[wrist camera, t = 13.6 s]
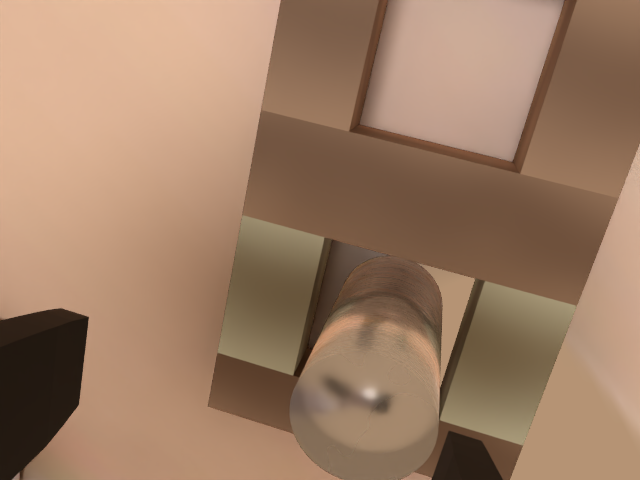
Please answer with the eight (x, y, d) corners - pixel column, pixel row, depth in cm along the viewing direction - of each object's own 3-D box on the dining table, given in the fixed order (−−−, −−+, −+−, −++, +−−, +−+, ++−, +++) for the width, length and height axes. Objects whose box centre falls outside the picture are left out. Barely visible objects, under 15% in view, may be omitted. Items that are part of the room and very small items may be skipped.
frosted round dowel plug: (427, 362, 21) (416, 502, 14) (331, 334, 21) (277, 458, 14) (454, 271, 20) (456, 377, 13) (352, 244, 20) (305, 333, 13)
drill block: (497, 460, 21) (501, 499, 19) (228, 377, 22) (207, 406, 20) (695, -71, 16) (729, -89, 14) (326, -140, 17) (310, -165, 15)
